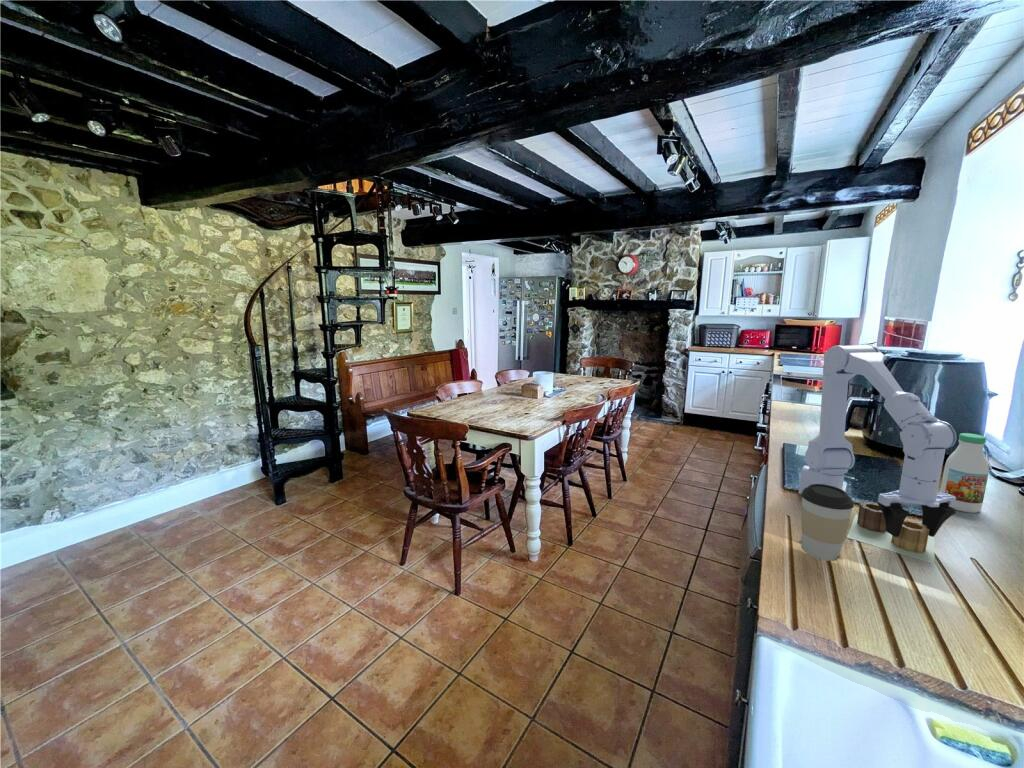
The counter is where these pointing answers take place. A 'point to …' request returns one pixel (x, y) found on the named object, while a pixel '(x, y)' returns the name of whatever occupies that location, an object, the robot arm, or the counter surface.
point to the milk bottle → (966, 473)
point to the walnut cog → (871, 517)
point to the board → (889, 542)
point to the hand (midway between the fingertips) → (910, 534)
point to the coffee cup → (824, 520)
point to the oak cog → (912, 537)
